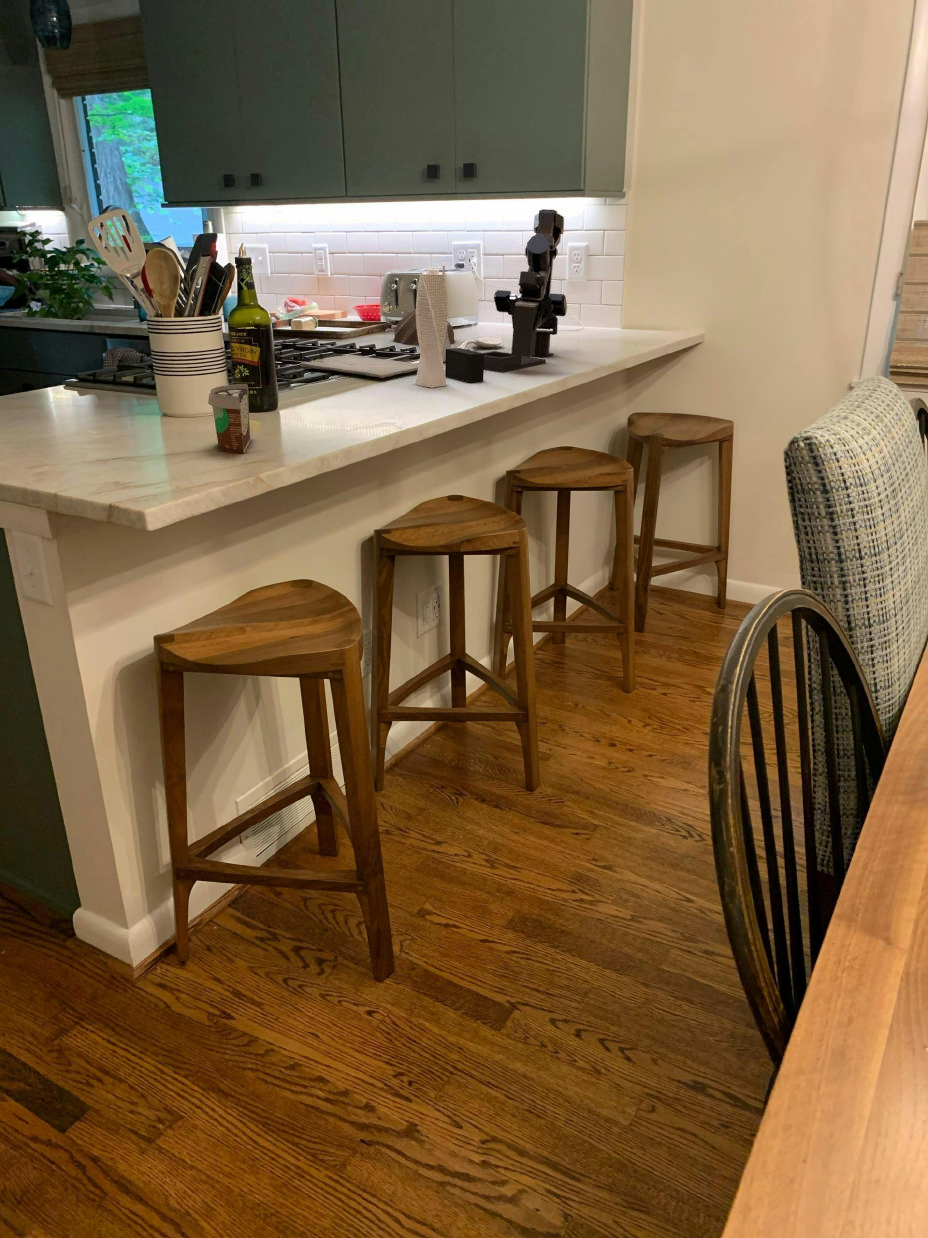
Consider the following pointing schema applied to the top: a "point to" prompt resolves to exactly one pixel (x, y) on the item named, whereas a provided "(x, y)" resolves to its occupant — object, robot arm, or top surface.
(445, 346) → the flask
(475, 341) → the spoon
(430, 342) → the skyscraper
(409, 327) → the decorative dome
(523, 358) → the dark grey tray
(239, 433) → the food container
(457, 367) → the black rectangular block
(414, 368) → the decorative slab
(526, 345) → the pad block
